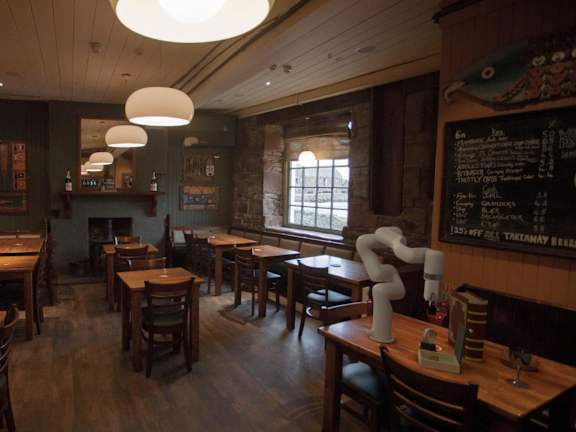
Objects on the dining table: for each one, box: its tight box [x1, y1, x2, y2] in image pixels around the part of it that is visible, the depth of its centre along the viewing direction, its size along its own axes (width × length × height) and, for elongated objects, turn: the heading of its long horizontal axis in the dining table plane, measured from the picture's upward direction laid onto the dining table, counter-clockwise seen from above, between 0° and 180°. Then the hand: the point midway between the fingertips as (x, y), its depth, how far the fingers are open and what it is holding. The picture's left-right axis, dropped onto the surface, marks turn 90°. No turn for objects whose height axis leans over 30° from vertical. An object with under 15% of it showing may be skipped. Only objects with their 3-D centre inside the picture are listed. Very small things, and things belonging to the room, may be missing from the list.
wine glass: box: [506, 346, 533, 389], centre depth 168 cm, size 8×8×15 cm
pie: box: [498, 350, 542, 372], centre depth 186 cm, size 15×16×5 cm
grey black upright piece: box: [419, 327, 438, 352], centre depth 204 cm, size 6×8×11 cm
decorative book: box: [447, 289, 489, 363], centre depth 200 cm, size 22×8×30 cm, turn 168°
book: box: [417, 348, 461, 374], centre depth 187 cm, size 16×13×4 cm
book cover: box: [453, 322, 475, 366], centre depth 181 cm, size 16×13×5 cm
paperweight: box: [428, 352, 439, 361], centre depth 187 cm, size 4×4×4 cm
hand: (430, 311), depth 187 cm, fingers open, 9 cm apart
